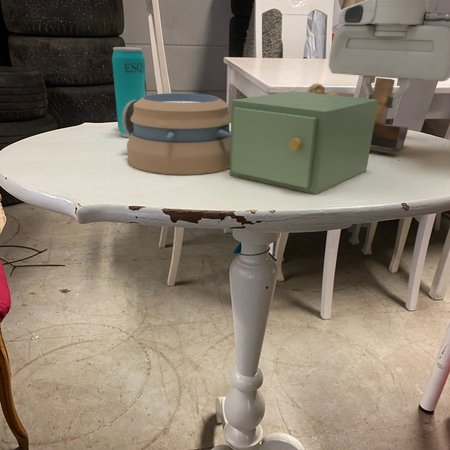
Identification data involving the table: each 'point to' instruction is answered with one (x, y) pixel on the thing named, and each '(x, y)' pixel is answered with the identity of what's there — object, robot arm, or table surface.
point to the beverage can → (128, 79)
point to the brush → (382, 132)
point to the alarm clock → (178, 133)
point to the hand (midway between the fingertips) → (380, 106)
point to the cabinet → (301, 139)
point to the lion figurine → (319, 90)
